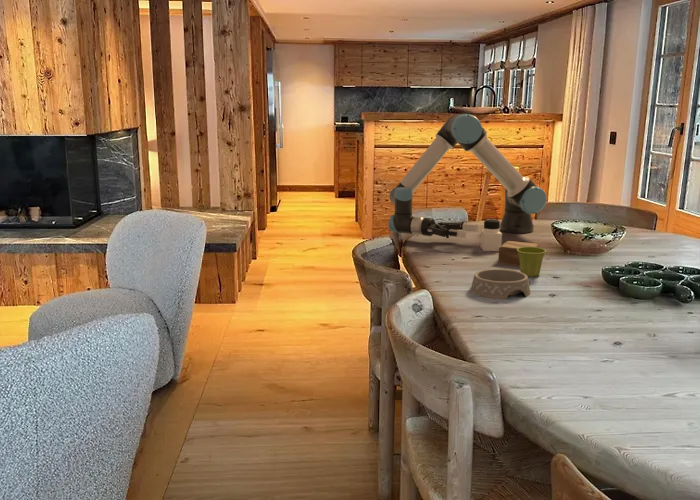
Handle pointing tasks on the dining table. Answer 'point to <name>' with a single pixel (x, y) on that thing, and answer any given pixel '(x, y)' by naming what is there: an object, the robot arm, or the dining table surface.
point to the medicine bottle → (491, 235)
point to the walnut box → (512, 252)
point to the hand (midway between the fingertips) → (471, 231)
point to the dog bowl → (499, 283)
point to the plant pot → (530, 260)
